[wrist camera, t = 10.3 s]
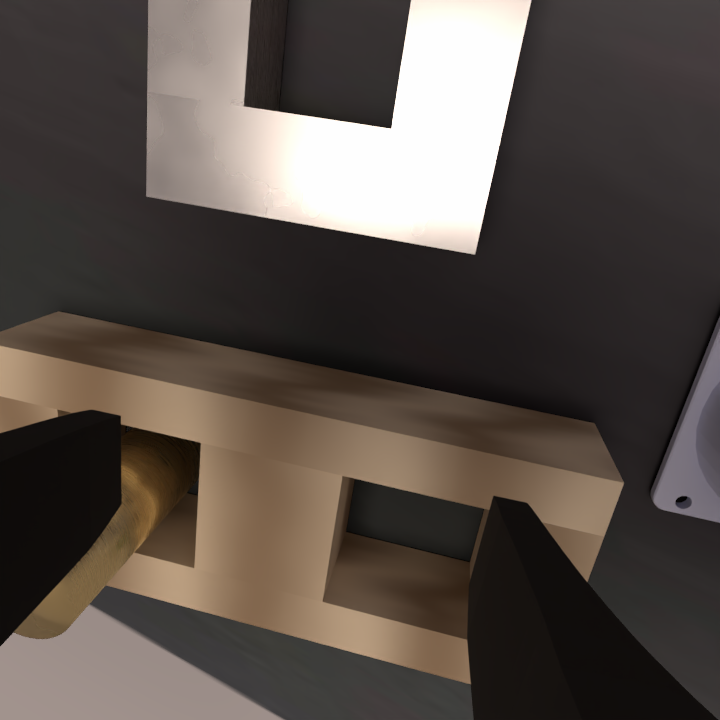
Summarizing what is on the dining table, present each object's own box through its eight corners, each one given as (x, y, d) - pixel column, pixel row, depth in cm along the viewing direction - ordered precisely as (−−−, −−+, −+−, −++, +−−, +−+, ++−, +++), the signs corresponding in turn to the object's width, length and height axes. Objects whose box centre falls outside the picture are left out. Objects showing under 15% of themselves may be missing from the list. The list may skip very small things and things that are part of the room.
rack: (594, 423, 20) (624, 483, 16) (529, 616, 23) (542, 703, 19) (58, 311, 22) (-25, 340, 18) (67, 499, 25) (-2, 555, 22)
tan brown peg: (221, 412, 22) (73, 558, 14) (216, 479, 23) (76, 652, 15) (148, 395, 23) (-39, 527, 14) (147, 462, 24) (-28, 620, 15)
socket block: (555, -131, 15) (575, -201, 12) (474, 241, 18) (475, 254, 16) (205, -164, 16) (150, -233, 13) (192, 192, 20) (146, 196, 17)
